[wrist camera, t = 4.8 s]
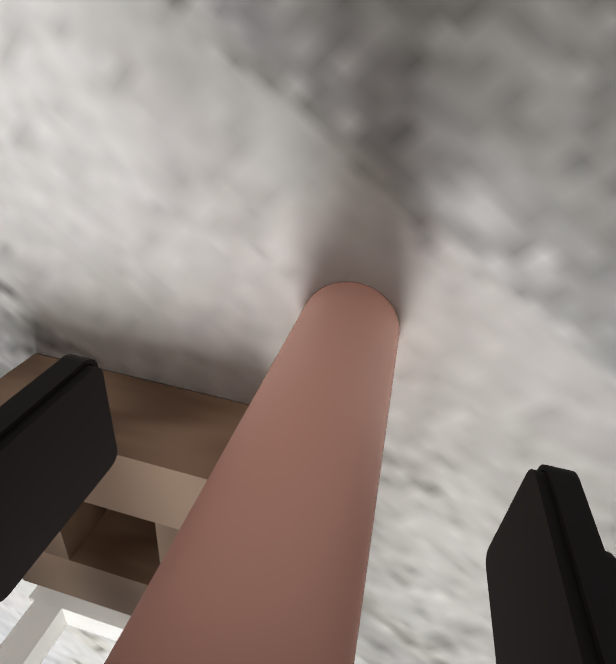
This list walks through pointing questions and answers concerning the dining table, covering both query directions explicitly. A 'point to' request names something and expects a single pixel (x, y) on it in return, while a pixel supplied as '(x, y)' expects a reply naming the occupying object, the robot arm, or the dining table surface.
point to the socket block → (133, 486)
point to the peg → (283, 506)
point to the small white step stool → (56, 625)
